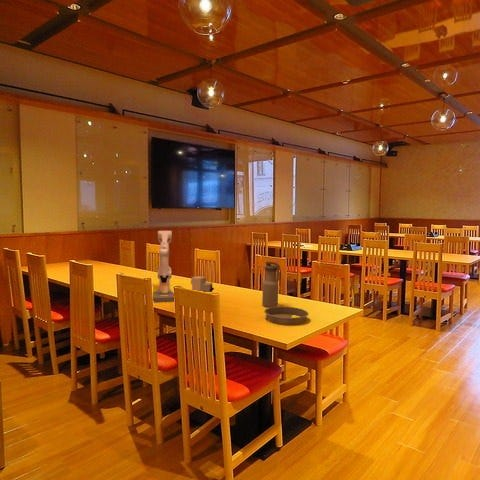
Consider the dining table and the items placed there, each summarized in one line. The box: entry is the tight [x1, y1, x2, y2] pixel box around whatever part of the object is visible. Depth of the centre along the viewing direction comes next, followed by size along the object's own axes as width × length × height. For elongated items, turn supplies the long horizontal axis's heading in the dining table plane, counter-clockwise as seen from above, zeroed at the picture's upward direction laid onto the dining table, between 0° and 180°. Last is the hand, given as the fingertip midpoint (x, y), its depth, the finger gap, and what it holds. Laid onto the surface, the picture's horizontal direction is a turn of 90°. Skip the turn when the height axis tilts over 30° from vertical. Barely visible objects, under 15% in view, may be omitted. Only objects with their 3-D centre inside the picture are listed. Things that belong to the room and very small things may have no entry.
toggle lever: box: [160, 283, 168, 294], centre depth 267 cm, size 2×5×7 cm, turn 103°
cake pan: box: [263, 305, 309, 326], centre depth 223 cm, size 25×25×4 cm
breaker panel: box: [152, 288, 175, 303], centre depth 265 cm, size 18×18×6 cm
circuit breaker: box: [190, 275, 215, 293], centre depth 264 cm, size 8×14×15 cm, turn 78°
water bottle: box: [261, 260, 281, 308], centre depth 251 cm, size 10×10×28 cm
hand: (164, 286), depth 269 cm, fingers closed, pressing on toggle lever
